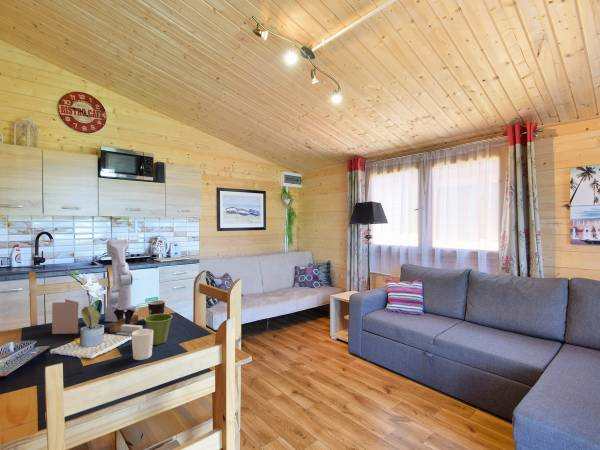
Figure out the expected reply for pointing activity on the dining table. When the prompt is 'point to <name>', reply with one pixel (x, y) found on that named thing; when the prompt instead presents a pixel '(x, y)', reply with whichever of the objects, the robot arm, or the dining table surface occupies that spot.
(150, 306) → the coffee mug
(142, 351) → the white cup
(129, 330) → the fulcrum
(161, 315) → the plant pot
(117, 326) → the walnut bar
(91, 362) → the dining table surface
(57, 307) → the greeting card
